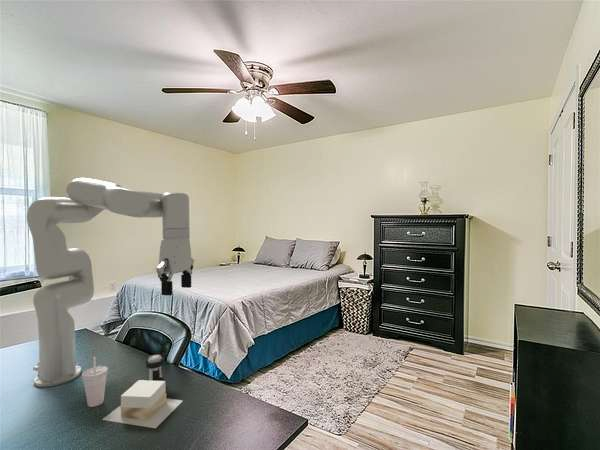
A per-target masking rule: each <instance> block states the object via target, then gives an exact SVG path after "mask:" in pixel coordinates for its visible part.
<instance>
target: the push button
mask: <svg viewBox="0 0 600 450" xmlns="http://www.w3.org/2000/svg"><path fill="white" fill-rule="evenodd" d="M164 361H165V356H164V357H163V356H162V355H161V354H153V355H150V356H149V357H148V358H147V359H146V360H145V362H144V363H145V366H146V368H147V369H148V372H149V373H148V377H149V378H148V380H150V381H165V382H166V379H165V378H164V377H163V375H162V366H163V365H164V363H165V362H164Z"/></svg>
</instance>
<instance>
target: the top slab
mask: <svg viewBox="0 0 600 450" xmlns="http://www.w3.org/2000/svg"><path fill="white" fill-rule="evenodd" d="M166 387H167V386H166V380H165V381H150V380H149V379H148V380H146V379H145V380H144V379H138V380H137V381H136V382H135V383H134V384H132V386H131V387H128V389H127V390H126V391H124V392H123V394H121V395H120V405H121V407H128V408H151V407H152V406H153V405H154V404H155V403H156V402H157V400H158V399H159V398H160V397H161V396H162V395H163V394H164V393H165V392H166V391H167V390H166V389H167V388H166Z"/></svg>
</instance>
